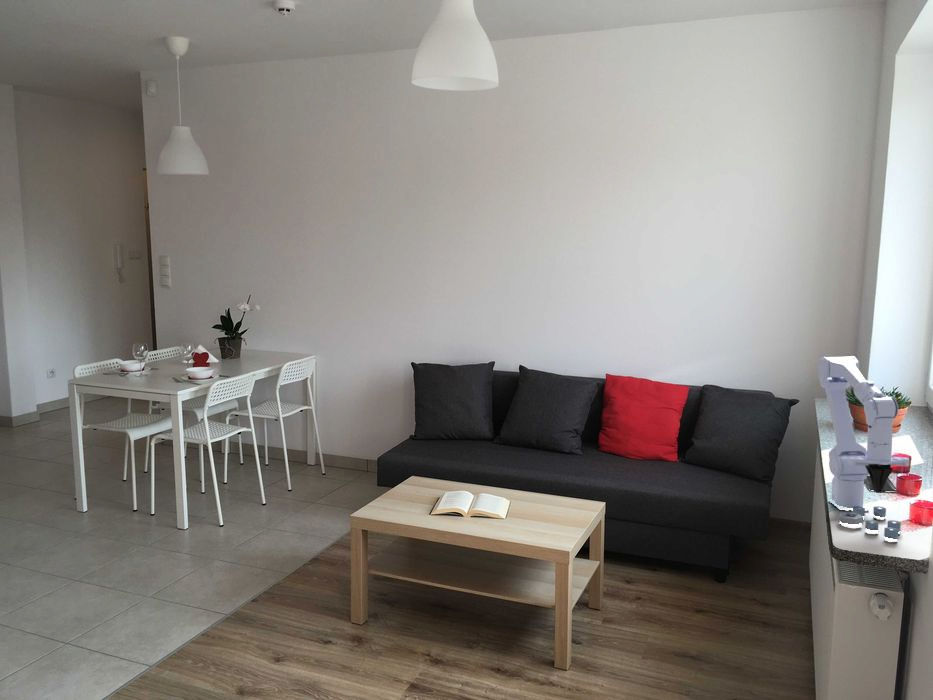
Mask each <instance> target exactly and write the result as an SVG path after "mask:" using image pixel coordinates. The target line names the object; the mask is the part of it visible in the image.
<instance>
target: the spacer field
mask: <svg viewBox="0 0 933 700" xmlns="http://www.w3.org/2000/svg"><path fill="white" fill-rule="evenodd" d="M872 512H873V514H874V515H875V516H880V517H885V516H887V515H886V514H887V508H886V507H884V506H880V505H879V506H873V510H872ZM852 513H858V514H859V515H861V516H865V515H866V514H865V513H866V511H865V508H863V507H860V506H854V507H853V511H852ZM864 526H865V528H867V529H870V530H878V531H879V521H878V520H875V519H867V520H865V525H864ZM901 526H902V523H901V521H899V520H894V519H893V520H892V519H891V520H887V527H884V532H883V536H885V537H888V538H893V539H897V538H898V539H899V535H898V532H899V531H901V529H902V527H901Z"/></svg>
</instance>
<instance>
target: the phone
mask: <svg viewBox="0 0 933 700" xmlns="http://www.w3.org/2000/svg"><path fill="white" fill-rule="evenodd" d="M864 483H865V484H866V485H865V484H864V485H865V487H866V486H867V487H868V489H870V490H873V484H872V481H871V478H870V475H868V476H867V479H864ZM867 487H866V488H867ZM868 489H867V490H868ZM895 489H897V487H896V486H895V485H894V483H893V482H892V481H891V479H890V478H889V477H888V478H887V480H886V482H885V485H884V487H883V491H882V492H884V491H896V490H895Z"/></svg>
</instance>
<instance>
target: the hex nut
mask: <svg viewBox="0 0 933 700" xmlns="http://www.w3.org/2000/svg"><path fill="white" fill-rule="evenodd" d="M839 520H840V521H841V522H842V523H848V524H859V523H862V524H863V523H864V520H863V517H862V516H861V515H859V514H858V513H853V512H852V511H842V512H840V513H838V521H839Z"/></svg>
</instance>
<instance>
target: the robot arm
mask: <svg viewBox="0 0 933 700" xmlns="http://www.w3.org/2000/svg"><path fill="white" fill-rule="evenodd" d="M816 372H817V376H818V381H819V383H820V384H819V385H820V387H821V388H823V389H824V390H825V393H826V398H827V404H828V409H829V412H830V418H831V422H832V426H833V432H834V437H835V441H836V445H835V446H834V447H833V448H831V449H830V451H829V452H828V459H829V460H828V462H829V463H828V466H829V470H830V473H831V474H832V475H833V478H832V480H831V499H832V500H834V501H835V503H836V504H837V505H839V506H843V507H847V508H853V507H854V506H860V507H863V506H864V492H865V491H864V489H865V488H864V487H865V484H864V479H867V476H870V478H871V481H872V484H873V490H874V491H875V492H874V493H876V494H882V493H883V492H884V491H883V487H884V485H885V482H886V480H887V478H889V477H890V475H891V474H892V473H893V467H894V466H899V467H900V466H904V467H910V459H909V458H908V457H906V456H905V457H904V456H903V457H902V456H892V453H893V452H892V449H893V447H892V446H893V427H894V425H893V423H894V421H893V420H894V419H896V418H897V417H898V414H899V405H898V402H897V400H896V399H895V397H894V396H890V395H885V394H884V392H882V391H881V390H880V388H879V387H878V386H877V385H876V384H875V383H874V381H872V380H866V378H865V376H864V375H863V374H862V372H861V371H860V363H859V360H858V359H857V357H856V356H854V355H850V356H827V357H826V356H822V357H820V359H819V360H818V362H817V367H816ZM850 387H853V388H854V389H853V394H854V396H855V397H856V398H857V399H858V401H859V403H861V405H863V412H864V415H865V422H866V425H867V442H866V443H867V445H866V446H867V447H864V446H863V445H861V444H859V443H858V442H857V440H856V436H855V432H854V425H853V422H852V418H851V412H850V408H849V405H848V401H847V395H846V389H847V388H850ZM892 466H893V467H892Z"/></svg>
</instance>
